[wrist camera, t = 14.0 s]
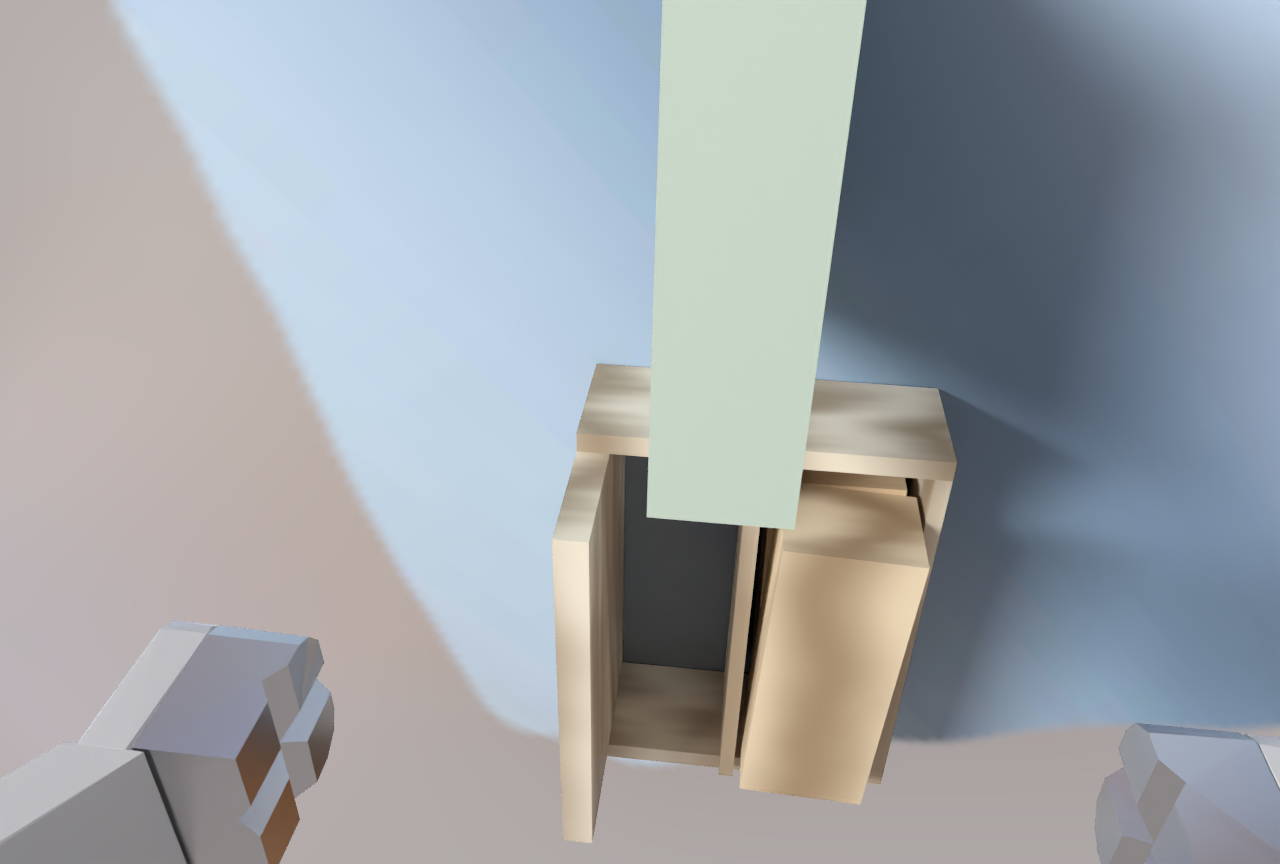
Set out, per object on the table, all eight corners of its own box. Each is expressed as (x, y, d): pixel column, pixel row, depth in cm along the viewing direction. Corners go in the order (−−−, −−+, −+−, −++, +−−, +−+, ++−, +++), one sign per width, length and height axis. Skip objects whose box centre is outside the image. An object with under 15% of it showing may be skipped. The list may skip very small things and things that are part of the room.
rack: (938, 388, 39) (981, 556, 31) (871, 697, 49) (891, 888, 41) (596, 363, 40) (551, 520, 32) (598, 671, 50) (563, 851, 42)
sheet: (836, -198, 29) (888, -157, 16) (787, 253, 37) (794, 529, 24) (715, -201, 30) (667, -165, 16) (691, 246, 37) (646, 517, 24)
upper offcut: (916, 497, 38) (929, 568, 35) (854, 727, 45) (860, 804, 42) (782, 481, 38) (783, 550, 35) (742, 713, 45) (739, 788, 42)
